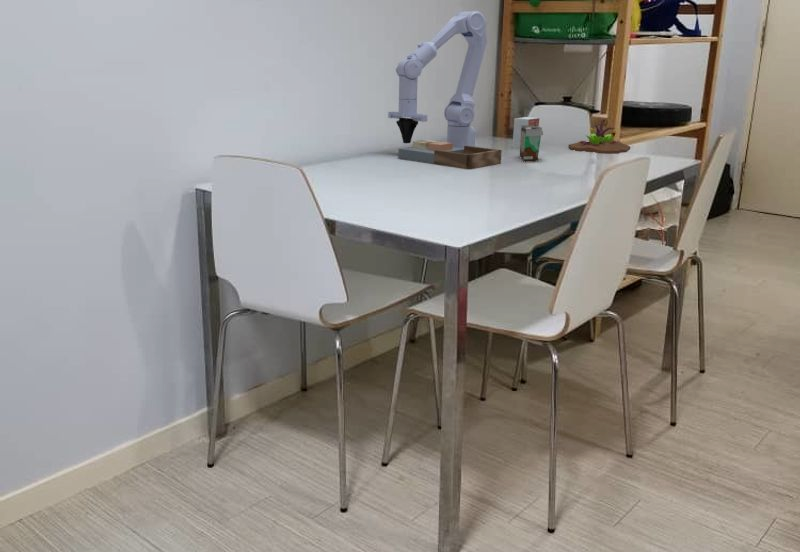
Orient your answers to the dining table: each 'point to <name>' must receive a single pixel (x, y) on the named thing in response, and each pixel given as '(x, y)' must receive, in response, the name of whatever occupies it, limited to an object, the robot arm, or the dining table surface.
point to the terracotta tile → (440, 146)
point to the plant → (600, 142)
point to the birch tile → (422, 144)
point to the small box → (517, 128)
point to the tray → (468, 157)
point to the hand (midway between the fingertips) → (406, 143)
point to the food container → (530, 142)
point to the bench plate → (421, 154)
